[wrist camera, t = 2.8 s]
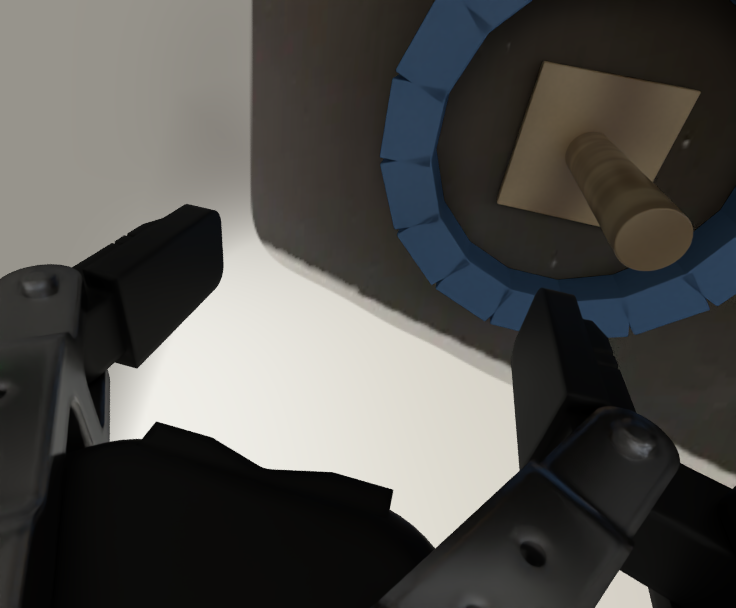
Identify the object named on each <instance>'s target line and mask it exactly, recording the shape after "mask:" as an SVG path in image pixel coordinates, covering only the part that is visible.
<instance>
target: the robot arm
mask: <svg viewBox="0 0 736 608" xmlns="http://www.w3.org/2000/svg"><path fill="white" fill-rule="evenodd" d="M222 273H223V248H222V229H221V218H220V216H219V213H218V212H217V211H215V210H211V209H206V208H202V207H198V206H193V205H189V204H186V205H183V206H182V207H180V208H178V209H177V210H175V211H174V212H172V213H171V214H169V215H167V216H166V217H164V218H162V219H158V220H155V221H152V222H148V223H145V224H143V225H141V226H139V227H137V228H136V229H134V230H133V231H131V232H129V233H128V234H127V236H123V237H121V238H120V239H118V240H116V241H115V244H113V243H111V244H110V245H108V246H106V247H105V248H103V249H101V250H100V251H98V252H97V253H95V254H94V255H92V256H90V257H88V258H87V259H85V260H84V261H82V262H80V263H79V264H77V265H75V266H74V267H72V268H71V267H68V266H64V265H54V264H53V265H52V264H47V265H37V266H31V267H26V268H23V269H19V270H16V271H14V272H11V273H9V274H7V275H6V276H4V277H2V278H1V279H0V608H595V606H596V605H597V603H598V602H599V600H600V599H601V597H602V596H603V594H604V593H605V591H606V589H607V588H608V586H609V585H610V583H611V582H612V580H613V579H614V577H615V576H616V574H617V573H618V571H619V570H621V571H622V572H624V573H626V574H628V575H629V576H630V577H632V578H634V579H636V580H637V581H639V582H640V583H642V584H644V585H646V586H647V587H648V589H649V593H650V598H651V602H652V606H653V608H736V486H735V487H734V488H733V489H731V488H729V487H727V486H725V485H723V484H721V483H719V482H717V481H715V480H713V479H711V478H709V477H707V476H705V475H703V474H701V473H699V472H697V471H695V470H693V469H691V468H689V467H687V466H685V465H683V464H681V463H680V458H679V454H678V451H677V449H676V447H675V445H674V444H673V442H672V441H671V440H670V438H669V437H668V436H667V435H666V434H665V433H664V432H663V431H662V430H661V429H660V428H659V427H658V426H657V425H655V424H654V423H652V422H651V421H650V420H648V419H646V418H645V417H643V416H641V415H639V414H637V413H636V411H635V408H634V406H633V403H632V400H631V398H630V395H629V393H628V390H627V387H626V385H625V382H624V380H623V377H622V374H621V372H620V370H619V369H618V364H617V361H616V359H615V356H613V351H612V348H611V346H610V343H609V340H608V338H607V336H606V335H605V334H604V333H603V332H602V331H601V330H600V329H599V327H598V326H597V325H596V324H595V323H594V322H593V321H591V320H587V319H583V318H582V315H581V312H580V309H579V305H578V302H577V299H576V297H575V295H572V294H568V293H564V292H559V291H555V290H551V289H547V288H540V289H539V290H538V291H537V293H536V294H535V296H534V299H533V301H532V303H531V306H530V308H529V310H528V312H527V315H526V317H525V319H524V321H523V324H522V326H521V328H520V331H519V333H518V335H517V337H516V340H515V343H514V346H513V351H512V357H511V368H512V380H513V393H514V405H515V418H516V429H517V430H516V431H517V442H518V456H519V468H520V471H519V472H518V473H517V474H516V475H515V476H513V478H511V479H510V480H509V481H508V482H507V483H506V484H505V485H504V486H503V487H502V488H501V489H499V490H498V491H497V492H496V493H495V494H494V495H493V496H492V497H491V498H490V499H489V500H487V501H486V502H485V503H484V504H483V505H482V506H481V507H480V508H479V509H478V510H477V511H476V512H475V513H473V514H472V515H471V516H470V517H469V518H468V519H467V520H466V521H465V522H464V523H463V524H461V525H460V526H459V527H458V528H457V529H456V530H455V531H454V532H453V533H452V534H451V535H450V536H448V537H447V538H446V539H445V540H444V541H443V542H442V543H441V544H440V545H439V546H438V547H437V548H434V547H433V546H432V544H431V543H430V542H429V541H428V540H427V539H426V538H425V536H423V535H422V534H421V533H420V532H419V531H418V530H417V529H416V528H415V527H414V526H413V525H411V524H410V523H409V522H407V521H406V520H405V519H403V518H402V517H401V516H399V515H398V514H396V513H394V512H393V511H391V510H390V505H391V499H392V494H393V490H392V489H389V488H385V487H382V486H378V485H375V484H371V483H368V482H365V481H361V480H358V479H354V478H351V477H347V476H344V475H340V474H337V473H333V472H314V471H293V470H272V469H266V468H262V467H260V466H258V465H257V464H255V463H253V462H252V461H250V460H248V459H247V458H245V457H243V456H242V455H240V454H238V453H237V452H235V451H233V450H232V449H230V448H228V447H227V446H225V445H223V444H222V443H220V442H219V441H216V440H215V439H214V438H211V437H208V436H204V435H201V434H198V433H194V432H191V431H187V430H184V429H180V428H177V427H173V426H170V425H167V424H163V423H159V422H156V423H155V424H154V425H153V426H152V427H151V429H150V430H149V431H148V432H147V434H146V435H145V436H144V437H143V439H129V440H118V441H112V442H110V441H109V440H110V439H109V435H110V426H109V425H110V377H109V373H108V370H107V369H108V368H109V367H110V366H111V365H112V364H113V363H114V362H116V363H119V364H122V365H126V366H130V367H133V368H138V367H139V366H140V365H141V364H142V363H143V362H144V361H145V360H146V359H147V358H148V357H149V356H150V355H151V354H152V353H153V352H154V351H155V350H156V349H157V348H158V347H159V346H160V345H161V344H162V343H163V342H164V341H165V340H166V339H167V337H169V336H170V335H171V334H172V332H173V331H174V330H175V329H176V328H177V327H178V326H179V325H180V324H181V323H182V322H183V321H184V320H185V319H186V318H187V317H188V316H189V315H190V314H191V313H192V312H193V311H194V310H195V309H196V308H197V307H198V306H199V305H200V304H201V303H202V302H203V301H204V300H205V299H206V298H207V297H208V296H209V295H210V294H211V293H212V292H213V291H214V290H215V289H216V287H217V286H218V284H219V283H220V280H221V278H222Z"/></svg>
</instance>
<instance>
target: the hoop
mask: <svg viewBox="0 0 736 608" xmlns="http://www.w3.org/2000/svg"><path fill="white" fill-rule="evenodd" d="M531 1H532V0H435V1H434V3H433V5H432V6H431V8H430V10H429V12H428V14H427V15H426V17H425V19H424V21H423V22H422V24H421V26H420V28H419V29H418V31H417V33H416V35H415V37H414V38H413V40H412V42H411V44H410V45H409V47H408V49H407V51H406V52H405V54H404V56H403V58H402V59H401V61H400V63H399V65H398V67H397V68H396V72H398V73H399V75H397V76H396V77H394V78H393V79H392V85H391V91H390V97H389V103H388V109H387V115H386V122H385V128H384V134H383V140H382V146H381V152H380V157H381V158H384V160H383V161H382V162H381V164H380V166H381V171H382V175H383V180H384V184H385V189H386V193H387V198H388V203H389V207H390V212H391V216H392V221H393V225H394V229H399V231H398V233H397V236H398V237H399V239H400V240H401V242H402V243H403V245H404V246H405V248H406V249H407V250H408V252H409V253H410V255H411V256H412V258H413V259H414V260H415V262H416V263H417V265H418V266H419V268H420V269H421V271H422V272H423V273H424V275H425V276H426V278H427V279H428V281H429V282H430V284H434V283H436V282H437V283H436V289H437V290H438V291H440V292H441V293H443V294H444V295H446V296H447V297H449V298H450V299H452V300H453V301H455V302H456V303H458V304H459V305H461V306H462V307H464V308H465V309H467V310H468V311H470V312H471V313H473V314H474V315H476V316H477V317H479V318H480V319H482V320H483V321H486V320H487V319H488V318H489V317H490V324H493V325H497V326H501V327H505V328H508V329H512V330H516V331H520V328H521V326H522V324H523V321H524V319H525V317H526V315H527V312H528V310H529V308H530V306H531V303H532V301H533V299H534V296H535V294H536V293H537V291H538V290H539V289H540V288H547V289H551V290H555V291H559V292H564V293H568V294H572V295H575V297H576V299H577V302H578V305H579V309H580V312H581V315H582V318H583V319H587V320H591V321H593V322H594V323H595V324H596V325H597V326H598V327H599V329H600V330H601V331H602V332H603V333H604V334H605V335H606V336H607V338H609V337H627V336H628V329H629V326H630V328H631V329H632V331H633V333H634V334H635V335H636V334H639V333H642V332H645V331H648V330H651V329H654V328H657V327H660V326H663V325H666V324H669V323H672V322H675V321H678V320H681V319H684V318H687V317H690V316H693V315H696V314H699V313H702V312H705V311H708V310H710V308H709V305H708V303H707V301H706V299H708V300H709V301H711V302H712V303H713V304H715V305H716V306H719V305H720V304H722V303H723V302H725V301H726V300H728V299H729V298H730V297H732V296H733V295H735V294H736V187H735V188H734V190H733V191H732V193H731V194H730V196H729V197H728V199H727V201H726V202H725V204H724V205H723V207H722V208H721V210H720V211H719V212H717V213H716V214H715V215H714V216H712V217H711V218H710V219H709V220H707V221H706V222H705V223H704V224H702V225H701V226H700V227H699V228H697V229H696V230H695V231H694V232H693V238H692V242H691V245H690V246H689V248H688V250H687V251H686V253H685V254H684V255H683V256H682V257H681V258H680V259H678V260H677V261H676V262H674V263H673V264H671V265H669V266H667V267H664V268H661V269H658V270H653V271H639V270H634V269H631V268H628V269H626V270H623V271H621V272H618V273H616V274H613V275H605V276H594V277H583V278H572V279H560V280H556V279H552V278H548V277H544V276H539V275H535V274H531V273H527V272H523V271H519V270H514V269H510V268H508V267H506V266H505V265H503V264H502V263H500V262H499V261H498V260H496V259H495V258H493V257H492V256H490V255H489V254H487V253H486V252H485V251H483V250H482V249H480V248H479V247H477V246H476V245H474V244H473V243H471V242H470V241H469V239H468V238H467V236H466V234H465V233H464V231H463V230H462V228H461V226H460V225H459V223H458V222H457V220H456V218H455V217H454V215H453V214H452V212H451V211H450V209H449V207H448V206H447V204H446V203H445V201H444V196H443V189H442V183H441V176H440V170H439V163H438V157H437V150H436V148H437V144H438V140H439V136H440V131H441V127H442V123H443V118H444V114H445V110H446V106H447V101H448V97H449V93H450V91H451V90H452V88H453V87H454V85H455V84H456V82H457V81H458V79H459V77H460V76H461V74H462V73H463V71H464V70H465V68H466V67H467V65H468V64H469V62H470V61H471V59H472V58H473V56H474V55H475V53H476V52H477V50H478V49H479V47H480V46H481V44H482V43H483V41H484V40H485V38H486V37H487V35H488V34H489V33H490V32H491V31H492V30H494V29H495V28H496V27H498V26H499V25H500V24H502V23H503V22H504V21H506V20H507V19H508V18H510V17H511V16H512V15H514V14H515V13H516V12H518V11H519V10H520V9H522V8H523V7H524V6H526V5H527V4H528V3H530V2H531ZM730 1H731V2H732V3H733V4H735V5H736V0H730Z"/></svg>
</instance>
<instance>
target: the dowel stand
mask: <svg viewBox="0 0 736 608" xmlns="http://www.w3.org/2000/svg"><path fill="white" fill-rule="evenodd" d="M700 93H701V92H700V91H698V90H696V89H691V88H685V87H680V86H675V85H670V84H664V83H659V82H654V81H649V80H643V79H638V78H633V77H628V76H622V75H617V74H612V73H607V72H601V71H596V70H591V69H586V68H580V67H575V66H570V65H564V64H559V63H554V62H549V61H542V64H541V67H540V70H539V73H538V76H537V79H536V82H535V85H534V88H533V91H532V94H531V97H530V100H529V103H528V106H527V109H526V112H525V115H524V118H523V121H522V124H521V127H520V130H519V133H518V136H517V139H516V142H515V145H514V148H513V151H512V154H511V157H510V160H509V163H508V166H507V169H506V172H505V175H504V178H503V181H502V184H501V187H500V190H499V193H498V196H497V204H501V205H505V206H510V207H514V208H519V209H523V210H528V211H532V212H536V213H541V214H545V215H550V216H554V217H559V218H563V219H567V220H572V221H576V222H581V223H585V224H590V225H594V226H598V227H601V229H602V231H603V233H604V235H605V237H606V238H607V240H608V242H609V244H610V246H611V248H612V249H613V251H614V253H615V255H616V257H617V258H618V260H619V261H620V262H621V263H622V264H623V265H625V266H627V267H629V268H631V269H634V270H639V271H653V270H658V269H661V268H664V267H667V266H669V265H671V264H673V263H674V262H676V261H677V260H678V259H680V258H681V257H682V256H683V255H684V254H685V253H686V251H687V250H688V248H689V246H690V245H691V242H692V238H693V226H692V223H691V221H690V220H689V218H688V217H687V216H686V215H685V214H684V213H683V212H682V211H681V210H680V209H679V208H678V207H677V206H676V205H675V204H674V203H673V202H672V201H671V200H670V199H669V198H668V197H667V196H666V195H665V194H664V193H663V192H662V191H661V190H660V189H659V188H658V187H657V186H656V185H655V184H654V183H653V181H654V179H655V177H656V175H657V173H658V171H659V169H660V168H661V166H662V164H663V162H664V160H665V158H666V156H667V154H668V153H669V151H670V149H671V147H672V145H673V143H674V141H675V140H676V138H677V136H678V134H679V132H680V130H681V128H682V127H683V125H684V123H685V121H686V119H687V117H688V115H689V113H690V112H691V110H692V108H693V106H694V104H695V102H696V100H697V99H698V97H699V95H700Z"/></svg>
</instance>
